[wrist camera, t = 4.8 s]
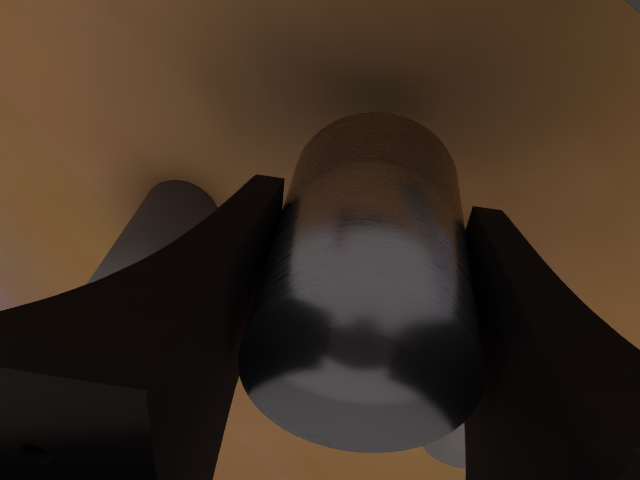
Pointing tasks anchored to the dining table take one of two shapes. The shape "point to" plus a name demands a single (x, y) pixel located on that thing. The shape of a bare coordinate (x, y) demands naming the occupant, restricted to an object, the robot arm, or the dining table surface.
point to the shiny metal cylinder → (367, 294)
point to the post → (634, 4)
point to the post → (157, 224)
